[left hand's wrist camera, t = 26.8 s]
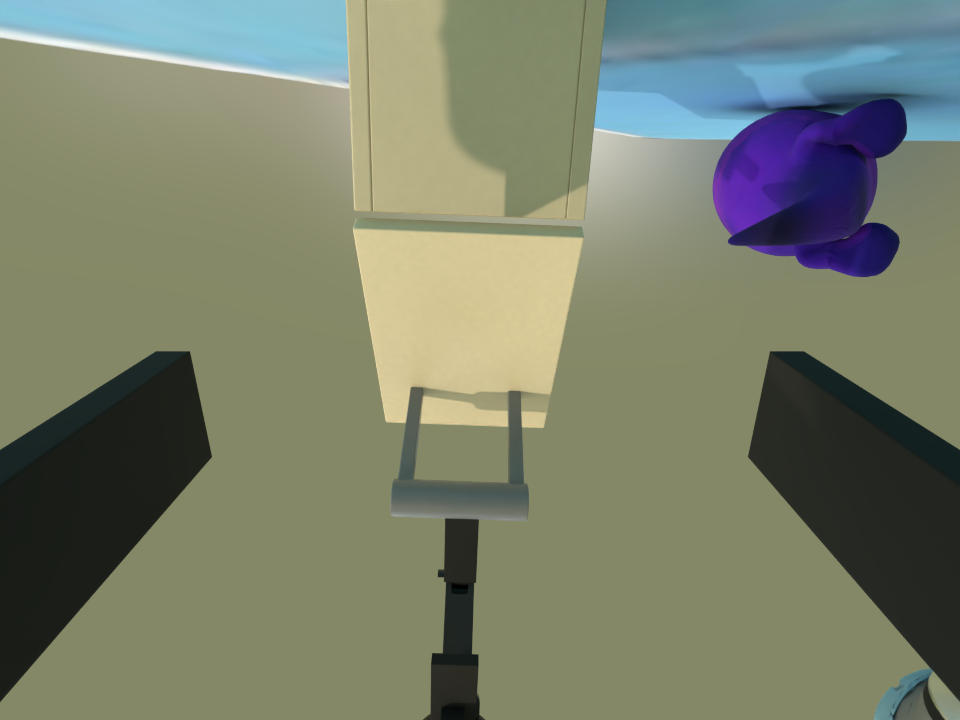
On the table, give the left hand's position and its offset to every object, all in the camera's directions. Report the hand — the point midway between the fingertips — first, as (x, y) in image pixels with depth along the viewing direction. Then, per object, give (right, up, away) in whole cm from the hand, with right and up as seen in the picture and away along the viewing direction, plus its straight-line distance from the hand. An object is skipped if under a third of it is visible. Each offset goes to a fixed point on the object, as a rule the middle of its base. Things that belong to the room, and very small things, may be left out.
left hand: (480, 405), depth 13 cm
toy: (+33, +26, +41) cm, 59 cm away
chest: (0, +18, +13) cm, 22 cm away
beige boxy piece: (-1, +2, +15) cm, 16 cm away
